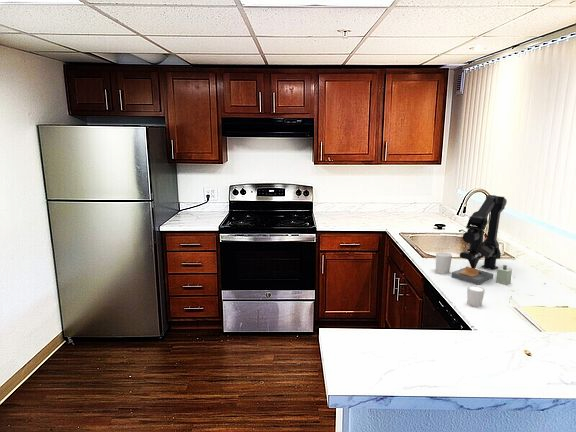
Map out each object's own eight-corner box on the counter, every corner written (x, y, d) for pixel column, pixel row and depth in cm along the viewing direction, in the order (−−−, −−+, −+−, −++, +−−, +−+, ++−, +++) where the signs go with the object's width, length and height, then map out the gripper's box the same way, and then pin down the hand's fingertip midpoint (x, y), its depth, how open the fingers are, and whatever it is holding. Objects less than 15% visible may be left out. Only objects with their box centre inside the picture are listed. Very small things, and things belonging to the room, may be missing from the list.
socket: (467, 271, 217) (467, 266, 216) (493, 278, 206) (493, 273, 205) (451, 276, 208) (451, 272, 207) (477, 284, 197) (478, 280, 196)
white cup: (451, 275, 210) (453, 256, 208) (435, 274, 212) (437, 255, 210) (448, 270, 218) (450, 252, 216) (433, 269, 220) (434, 251, 218)
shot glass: (462, 300, 178) (464, 285, 176) (477, 300, 178) (479, 285, 177) (471, 307, 171) (472, 291, 170) (486, 306, 172) (488, 291, 170)
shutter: (465, 270, 209) (466, 266, 208) (478, 274, 203) (479, 269, 203) (459, 273, 205) (459, 268, 204) (472, 277, 199) (472, 272, 199)
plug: (500, 280, 203) (502, 263, 201) (510, 283, 199) (512, 265, 197) (495, 282, 200) (497, 265, 199) (506, 285, 196) (508, 267, 195)
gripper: (482, 246, 191) (479, 277, 194) (501, 240, 202) (498, 270, 205) (460, 241, 200) (457, 271, 203) (479, 235, 211) (477, 264, 214)
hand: (473, 269), depth 206 cm, fingers closed
